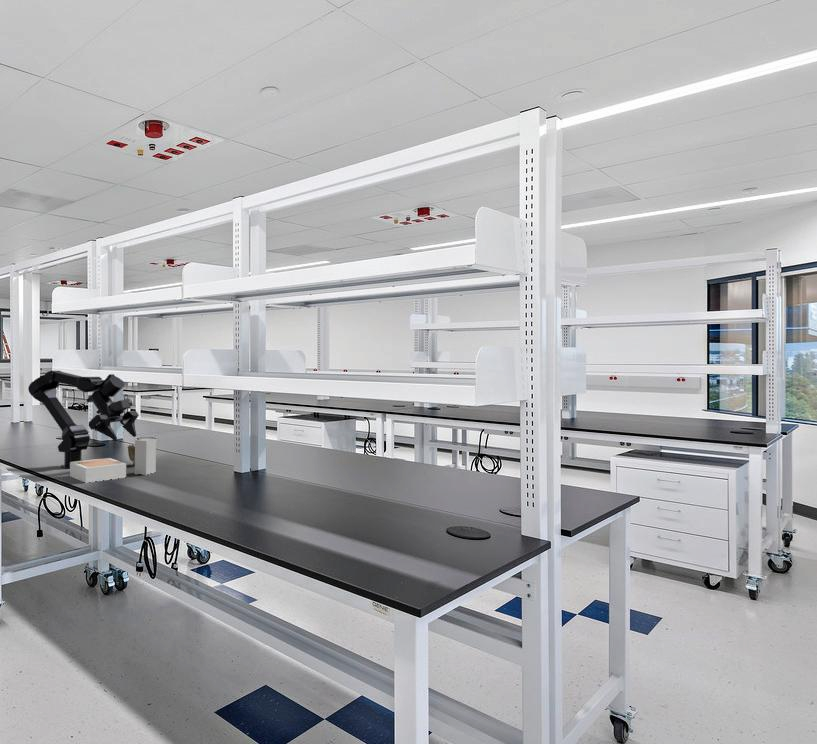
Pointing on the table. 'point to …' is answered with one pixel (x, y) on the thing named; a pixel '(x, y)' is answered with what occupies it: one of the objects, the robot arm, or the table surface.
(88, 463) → the trapdoor
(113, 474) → the trapdoor frame
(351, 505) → the table surface
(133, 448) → the cup
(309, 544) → the table surface
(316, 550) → the table surface
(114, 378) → the robot arm
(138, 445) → the stone pillar
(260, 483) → the table surface
